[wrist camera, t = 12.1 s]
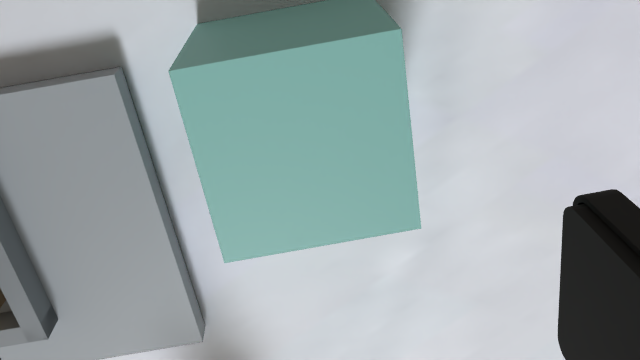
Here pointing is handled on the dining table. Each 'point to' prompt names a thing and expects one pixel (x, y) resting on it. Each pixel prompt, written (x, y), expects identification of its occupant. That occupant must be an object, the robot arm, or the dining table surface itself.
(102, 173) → the board
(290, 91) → the teal block
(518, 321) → the dining table surface
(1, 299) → the oak block
